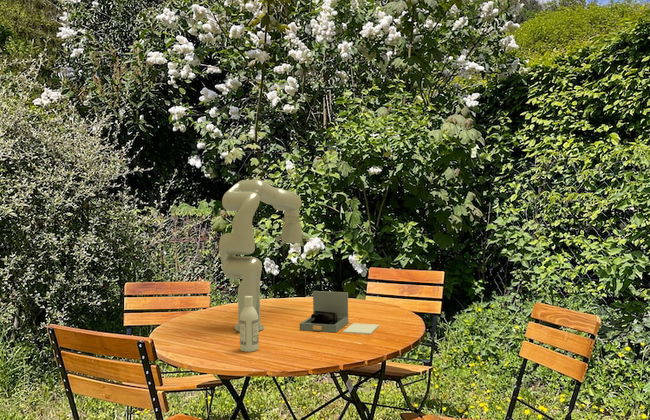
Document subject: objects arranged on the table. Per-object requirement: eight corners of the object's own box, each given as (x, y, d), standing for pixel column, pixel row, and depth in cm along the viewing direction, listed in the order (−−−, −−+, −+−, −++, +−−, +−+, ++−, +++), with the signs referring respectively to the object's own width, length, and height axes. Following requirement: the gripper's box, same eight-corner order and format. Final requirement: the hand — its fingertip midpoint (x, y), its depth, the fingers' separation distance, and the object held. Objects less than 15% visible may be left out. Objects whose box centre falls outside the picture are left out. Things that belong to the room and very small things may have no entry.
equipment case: (335, 332, 228) (335, 299, 228) (299, 330, 234) (298, 298, 233) (348, 323, 247) (347, 292, 246) (314, 321, 252) (313, 291, 252)
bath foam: (258, 346, 208) (258, 294, 207) (258, 351, 201) (257, 297, 201) (240, 347, 207) (239, 295, 207) (239, 352, 200) (238, 298, 200)
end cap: (337, 326, 241) (337, 311, 241) (330, 330, 234) (330, 314, 234) (318, 324, 245) (317, 309, 245) (310, 327, 239) (310, 312, 239)
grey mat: (370, 334, 225) (370, 333, 225) (342, 332, 229) (342, 331, 229) (379, 326, 240) (379, 324, 240) (353, 324, 244) (353, 323, 244)
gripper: (273, 220, 271) (273, 254, 271) (307, 220, 269) (308, 254, 269) (276, 220, 279) (277, 253, 279) (310, 219, 277) (310, 253, 277)
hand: (292, 254), depth 274 cm, fingers open, 9 cm apart
